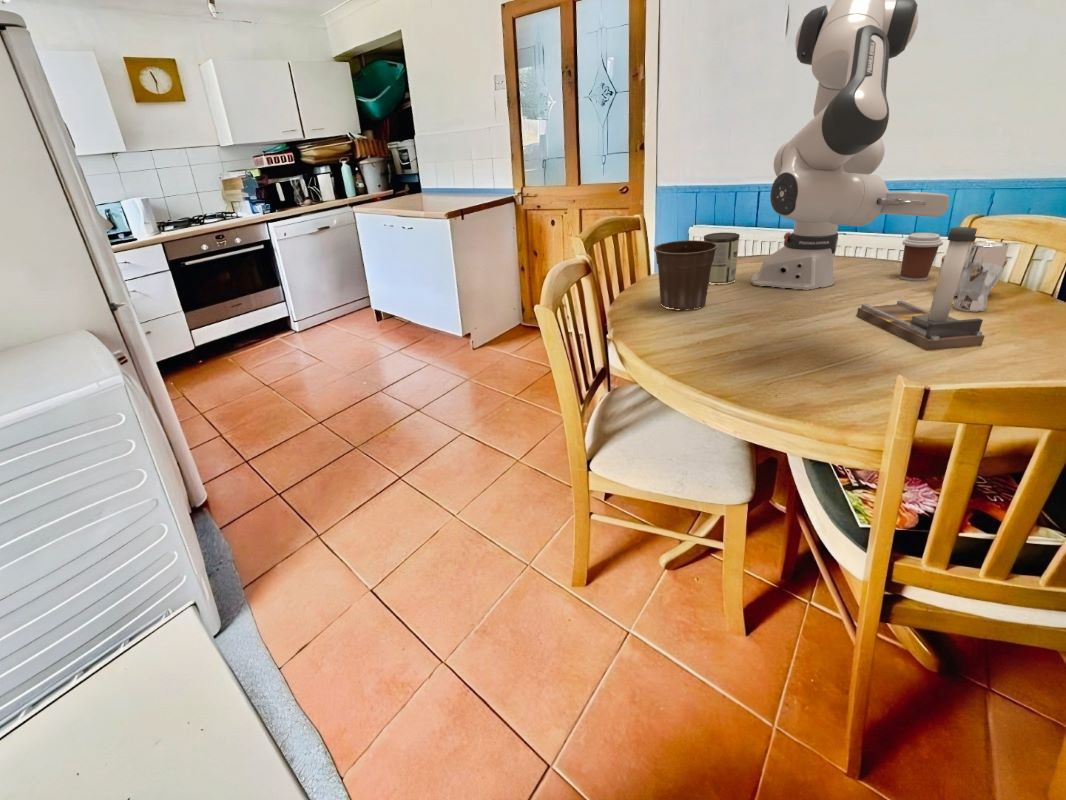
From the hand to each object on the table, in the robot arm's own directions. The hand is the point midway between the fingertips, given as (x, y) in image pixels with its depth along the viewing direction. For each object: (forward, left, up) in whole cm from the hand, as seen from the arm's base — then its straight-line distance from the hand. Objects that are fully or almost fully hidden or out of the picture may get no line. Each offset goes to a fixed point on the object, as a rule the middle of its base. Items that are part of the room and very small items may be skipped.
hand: (922, 206), depth 95 cm
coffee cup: (+10, +55, -27) cm, 62 cm away
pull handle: (+8, +4, -25) cm, 26 cm away
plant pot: (-47, +17, -27) cm, 57 cm away
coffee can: (-42, +44, -27) cm, 66 cm away
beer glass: (+18, +27, -27) cm, 42 cm away
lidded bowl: (+19, +40, -27) cm, 52 cm away
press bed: (+5, +8, -27) cm, 29 cm away
